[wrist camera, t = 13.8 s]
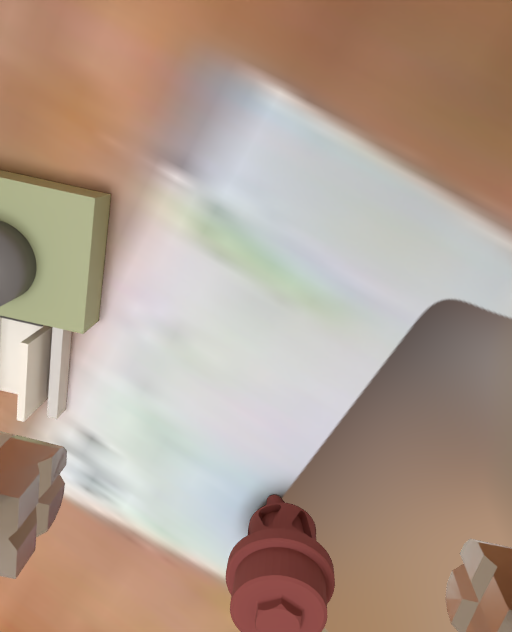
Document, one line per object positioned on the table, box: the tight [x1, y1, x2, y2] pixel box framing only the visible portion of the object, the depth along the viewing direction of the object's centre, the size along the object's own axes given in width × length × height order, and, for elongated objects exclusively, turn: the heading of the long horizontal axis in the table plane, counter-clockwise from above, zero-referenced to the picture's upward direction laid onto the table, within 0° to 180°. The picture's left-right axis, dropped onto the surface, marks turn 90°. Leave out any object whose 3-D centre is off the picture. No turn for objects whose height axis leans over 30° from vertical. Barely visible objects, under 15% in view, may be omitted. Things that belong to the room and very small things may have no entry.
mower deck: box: [0, 170, 111, 419], centre depth 43 cm, size 22×15×6 cm
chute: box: [0, 318, 53, 422], centre depth 46 cm, size 8×6×5 cm
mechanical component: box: [226, 495, 335, 632], centre depth 46 cm, size 12×10×10 cm
